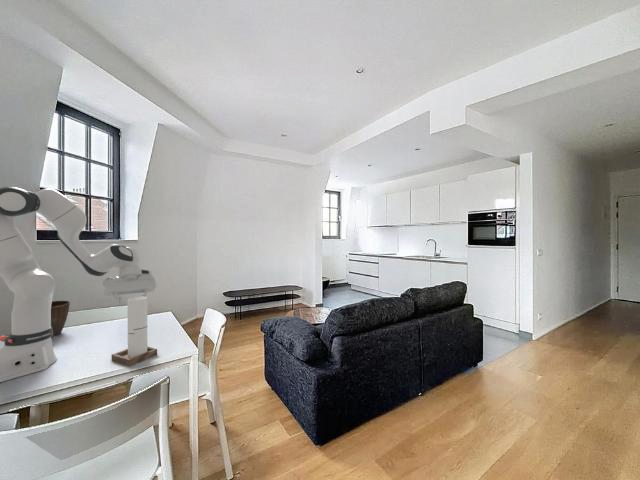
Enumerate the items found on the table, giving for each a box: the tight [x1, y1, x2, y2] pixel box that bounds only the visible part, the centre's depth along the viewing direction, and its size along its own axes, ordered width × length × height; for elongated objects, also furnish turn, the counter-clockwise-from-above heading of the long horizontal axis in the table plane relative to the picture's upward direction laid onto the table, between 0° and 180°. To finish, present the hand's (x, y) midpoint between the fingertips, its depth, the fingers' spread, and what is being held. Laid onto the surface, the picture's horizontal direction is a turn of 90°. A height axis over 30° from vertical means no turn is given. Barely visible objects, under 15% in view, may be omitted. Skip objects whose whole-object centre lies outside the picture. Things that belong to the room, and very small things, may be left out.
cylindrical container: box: [127, 295, 148, 359], centre depth 120 cm, size 7×7×25 cm
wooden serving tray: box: [111, 345, 158, 367], centre depth 120 cm, size 12×12×2 cm
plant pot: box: [51, 300, 71, 337], centre depth 145 cm, size 15×15×16 cm
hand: (132, 300), depth 127 cm, fingers open, 8 cm apart
